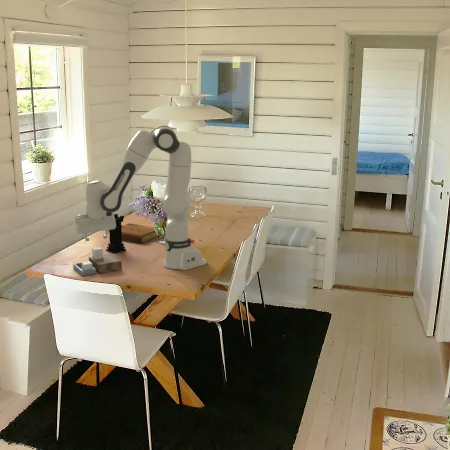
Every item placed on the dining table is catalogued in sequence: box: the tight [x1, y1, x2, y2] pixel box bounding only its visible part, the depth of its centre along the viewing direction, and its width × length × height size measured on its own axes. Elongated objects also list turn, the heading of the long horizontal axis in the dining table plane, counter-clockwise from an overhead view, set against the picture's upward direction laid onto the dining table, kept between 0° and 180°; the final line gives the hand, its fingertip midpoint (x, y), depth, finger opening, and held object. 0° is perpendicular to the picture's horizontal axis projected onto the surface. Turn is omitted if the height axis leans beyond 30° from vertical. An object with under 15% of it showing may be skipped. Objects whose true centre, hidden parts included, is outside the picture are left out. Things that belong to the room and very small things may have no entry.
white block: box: [91, 246, 104, 259], centre depth 299 cm, size 4×4×5 cm
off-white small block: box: [81, 260, 92, 271], centre depth 291 cm, size 4×4×5 cm
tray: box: [72, 260, 97, 277], centre depth 294 cm, size 7×14×2 cm, turn 32°
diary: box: [121, 222, 157, 245], centre depth 353 cm, size 23×19×6 cm
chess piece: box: [105, 213, 127, 255], centre depth 326 cm, size 8×8×20 cm
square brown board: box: [88, 252, 123, 275], centre depth 299 cm, size 12×14×5 cm
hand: (96, 239), depth 297 cm, fingers open, 8 cm apart
